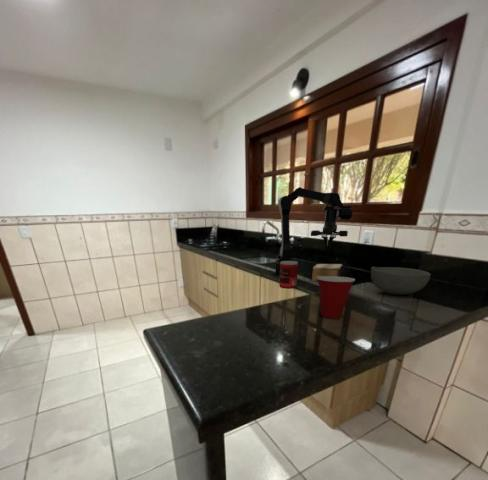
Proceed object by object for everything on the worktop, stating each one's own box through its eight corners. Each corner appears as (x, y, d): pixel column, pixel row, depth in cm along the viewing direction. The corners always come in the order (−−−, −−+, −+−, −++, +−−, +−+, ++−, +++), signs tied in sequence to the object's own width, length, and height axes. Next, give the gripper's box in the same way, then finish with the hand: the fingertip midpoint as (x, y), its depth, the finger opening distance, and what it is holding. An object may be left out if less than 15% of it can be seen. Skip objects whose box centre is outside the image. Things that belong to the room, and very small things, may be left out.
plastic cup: (349, 312, 84) (354, 274, 80) (350, 323, 74) (356, 281, 70) (314, 308, 87) (318, 272, 83) (311, 319, 78) (315, 278, 73)
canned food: (295, 285, 121) (297, 260, 117) (297, 289, 114) (298, 263, 110) (278, 284, 122) (279, 260, 118) (279, 288, 114) (280, 263, 111)
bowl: (414, 304, 92) (421, 275, 88) (358, 293, 106) (362, 268, 103) (432, 294, 104) (438, 269, 101) (379, 286, 119) (384, 263, 115)
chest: (338, 277, 137) (340, 266, 135) (336, 282, 126) (337, 270, 124) (316, 276, 142) (317, 265, 140) (311, 280, 131) (312, 268, 129)
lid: (342, 265, 135) (342, 264, 134) (339, 269, 124) (339, 267, 124) (317, 265, 139) (317, 263, 139) (312, 268, 129) (313, 267, 129)
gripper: (309, 219, 136) (307, 250, 142) (348, 219, 129) (343, 251, 134) (313, 219, 146) (311, 248, 151) (349, 219, 138) (345, 250, 144)
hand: (327, 249), depth 145 cm, fingers closed
